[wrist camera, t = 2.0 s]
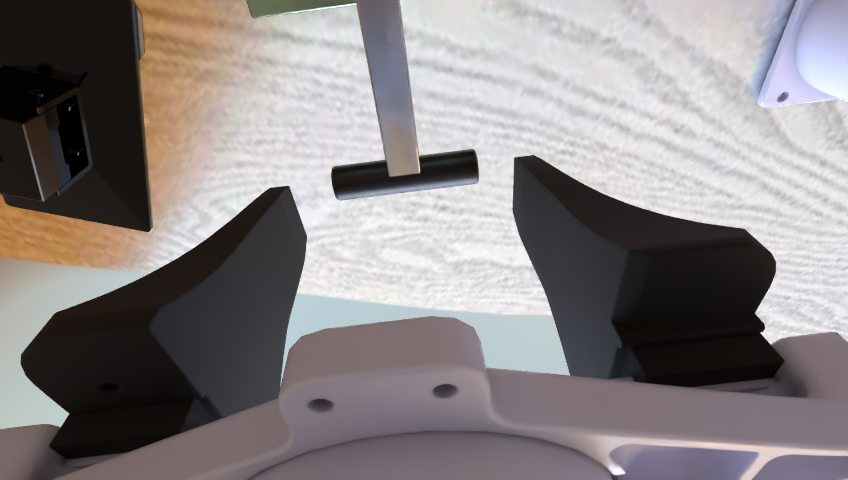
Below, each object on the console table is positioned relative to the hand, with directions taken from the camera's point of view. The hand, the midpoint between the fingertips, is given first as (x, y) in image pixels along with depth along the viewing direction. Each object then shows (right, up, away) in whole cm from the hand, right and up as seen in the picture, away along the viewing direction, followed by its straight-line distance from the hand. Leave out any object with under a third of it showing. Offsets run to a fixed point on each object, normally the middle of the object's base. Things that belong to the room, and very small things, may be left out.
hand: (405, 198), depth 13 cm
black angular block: (-17, +5, +6) cm, 18 cm away
